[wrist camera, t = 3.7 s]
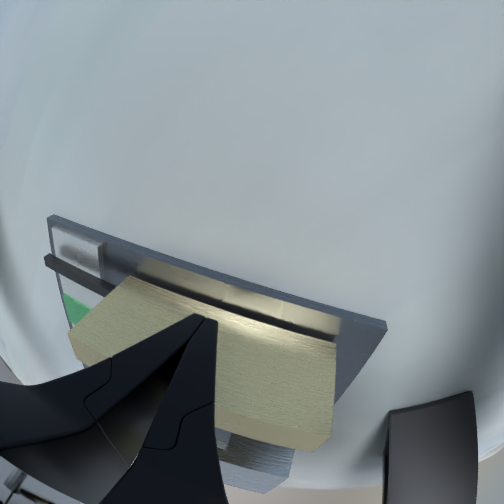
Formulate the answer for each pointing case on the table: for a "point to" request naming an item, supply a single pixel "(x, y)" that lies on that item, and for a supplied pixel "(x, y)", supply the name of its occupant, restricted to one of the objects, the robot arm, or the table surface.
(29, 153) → the table surface
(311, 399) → the plate
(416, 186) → the table surface
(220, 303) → the frame
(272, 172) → the table surface
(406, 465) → the phone stand
